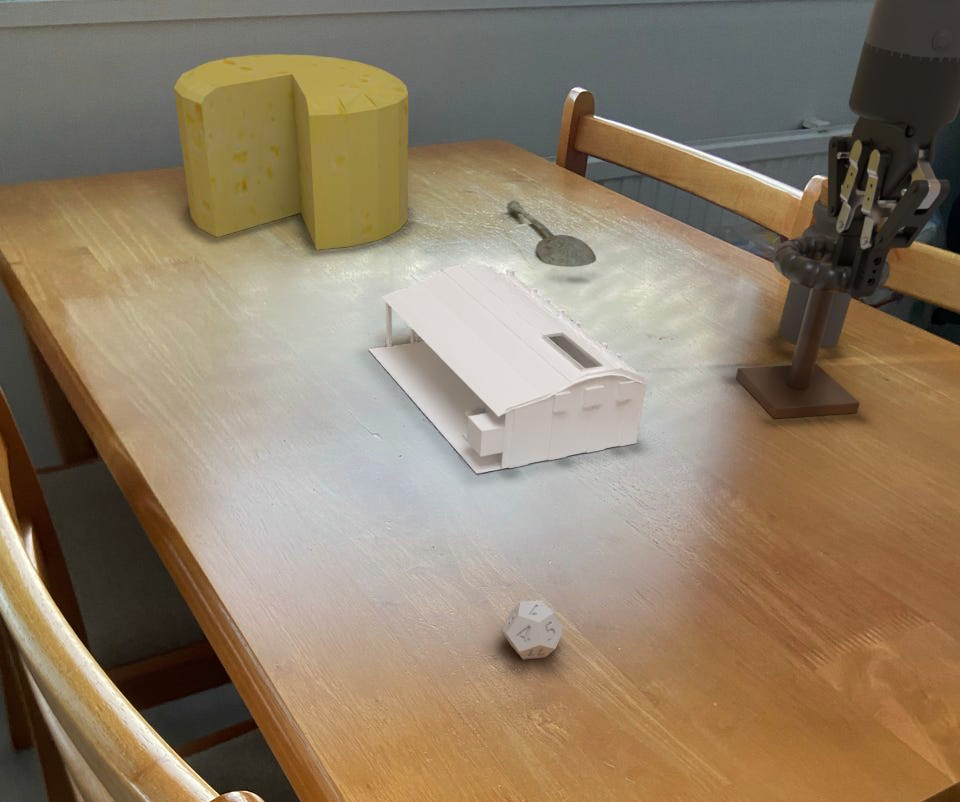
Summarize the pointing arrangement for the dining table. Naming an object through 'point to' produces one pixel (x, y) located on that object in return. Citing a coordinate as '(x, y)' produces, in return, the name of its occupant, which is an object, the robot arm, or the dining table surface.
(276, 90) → the cheese
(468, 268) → the toy hangar
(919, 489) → the dining table surface
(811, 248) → the ring
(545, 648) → the game die
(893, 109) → the robot arm
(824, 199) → the bottle
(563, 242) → the soupspoon
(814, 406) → the peg stand
